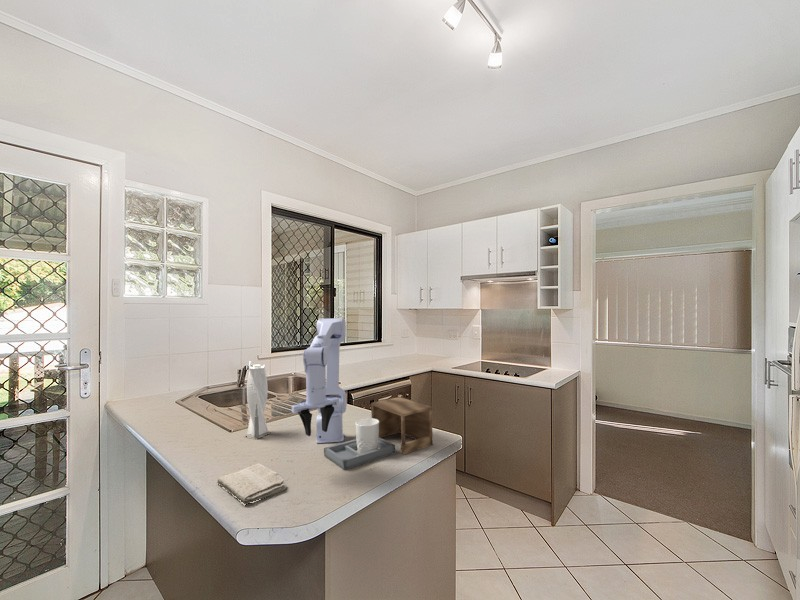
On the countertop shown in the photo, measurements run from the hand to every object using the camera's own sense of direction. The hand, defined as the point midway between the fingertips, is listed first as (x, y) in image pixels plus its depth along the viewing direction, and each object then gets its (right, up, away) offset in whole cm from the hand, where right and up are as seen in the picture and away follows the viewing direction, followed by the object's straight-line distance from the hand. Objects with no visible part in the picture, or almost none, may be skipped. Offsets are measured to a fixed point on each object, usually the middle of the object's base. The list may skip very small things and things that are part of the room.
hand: (316, 432), depth 106 cm
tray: (+12, -10, +9) cm, 18 cm away
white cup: (+14, -11, +11) cm, 21 cm away
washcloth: (-15, -11, -11) cm, 22 cm away
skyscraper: (-30, -12, +29) cm, 43 cm away
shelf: (+26, -10, +20) cm, 34 cm away
